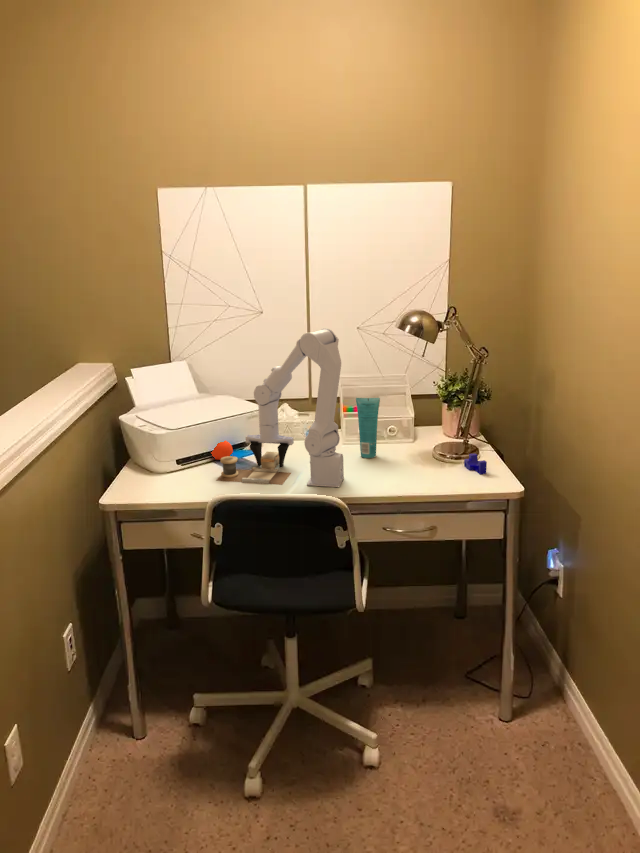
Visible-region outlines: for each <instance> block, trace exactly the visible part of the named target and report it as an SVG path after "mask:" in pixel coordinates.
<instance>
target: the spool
mask: <svg viewBox="0 0 640 853" xmlns="http://www.w3.org/2000/svg"><path fill="white" fill-rule="evenodd" d="M238 460H239V459H238V457H237V456H235V455H234V456H233V455H232V456H226V457H223V458H221V459H220V462H219V463H221V464H222V471H221V473H220V476H222V477H224V478H233V477H236V476H238V471H236V469H237V462H239V461H238Z"/></svg>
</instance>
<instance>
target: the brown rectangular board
mask: <svg viewBox="0 0 640 853" xmlns="http://www.w3.org/2000/svg"><path fill="white" fill-rule="evenodd" d="M236 471H238V476H236V477H233V478H224V477H222V476H221V475H220V476H219V477H217V478H216V480H215V481H218V482H233V483H245V484H246V483H247V484H248V483H249V484H261V485H262V484H264V485H278V486H279V485H280V486H283V485H284V483H285V482H286V481H287V479H288V478H290V476H291V474H292V472H289V471H288V472H287V471H280V470H279V468H261V467H259V466H257V467H255V466H253V467H251V469H238V468H236Z"/></svg>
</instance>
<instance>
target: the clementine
mask: <svg viewBox="0 0 640 853" xmlns="http://www.w3.org/2000/svg"><path fill="white" fill-rule="evenodd" d="M232 453H234V450H233V446H232V444H231V443H230V442H228V441H227V440H225V441H224V442H220V443H218V444H217V446H216V447H215V448H214V450H213V451H212V452H211V451H210V454H212V455H211V456H213V457H215V459H214V460H220V459H221V458H223V457H226V456H230V455H231V454H232ZM232 455H233V454H232ZM213 457H212V458H213Z"/></svg>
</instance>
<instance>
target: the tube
mask: <svg viewBox="0 0 640 853" xmlns="http://www.w3.org/2000/svg"><path fill="white" fill-rule="evenodd" d="M380 400H381V397H355V402H356V411H357V420H358V434H359V450H360V457H361V458H364V459H373V458H375V457H376V456H377V442H378V441H377V437H378V434H377V433H378V421H379V420H378V419H379V407H380V402H381V401H380Z"/></svg>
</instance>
